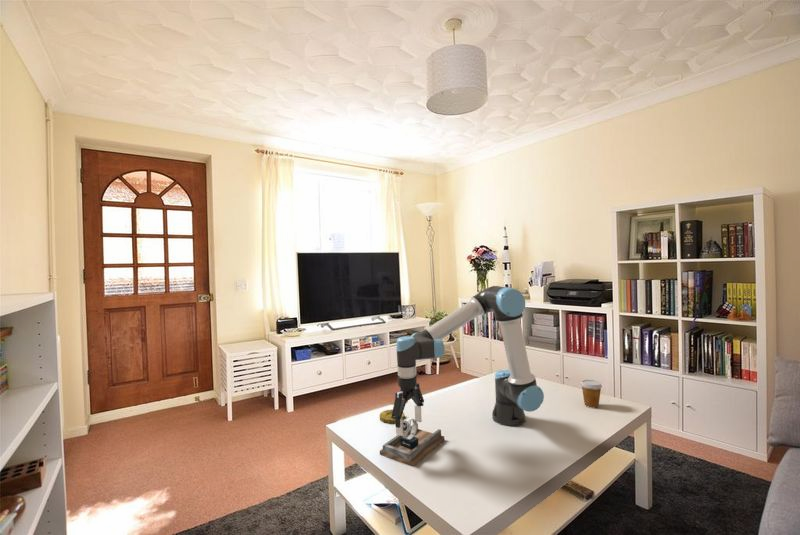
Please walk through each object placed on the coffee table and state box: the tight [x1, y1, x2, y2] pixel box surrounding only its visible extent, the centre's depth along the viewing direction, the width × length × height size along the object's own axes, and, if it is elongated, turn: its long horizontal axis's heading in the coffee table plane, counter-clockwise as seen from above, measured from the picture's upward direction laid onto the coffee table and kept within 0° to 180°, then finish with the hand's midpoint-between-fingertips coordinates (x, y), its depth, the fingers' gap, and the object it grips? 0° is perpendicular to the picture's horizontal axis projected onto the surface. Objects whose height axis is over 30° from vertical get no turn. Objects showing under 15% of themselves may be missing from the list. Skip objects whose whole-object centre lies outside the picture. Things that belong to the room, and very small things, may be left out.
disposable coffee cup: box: [580, 379, 603, 408], centre depth 191 cm, size 10×10×12 cm
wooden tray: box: [379, 422, 445, 467], centre depth 154 cm, size 16×24×4 cm, turn 145°
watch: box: [401, 417, 418, 450], centre depth 152 cm, size 6×8×11 cm
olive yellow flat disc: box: [379, 409, 405, 424], centre depth 183 cm, size 12×12×2 cm
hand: (409, 427), depth 152 cm, fingers open, 13 cm apart
